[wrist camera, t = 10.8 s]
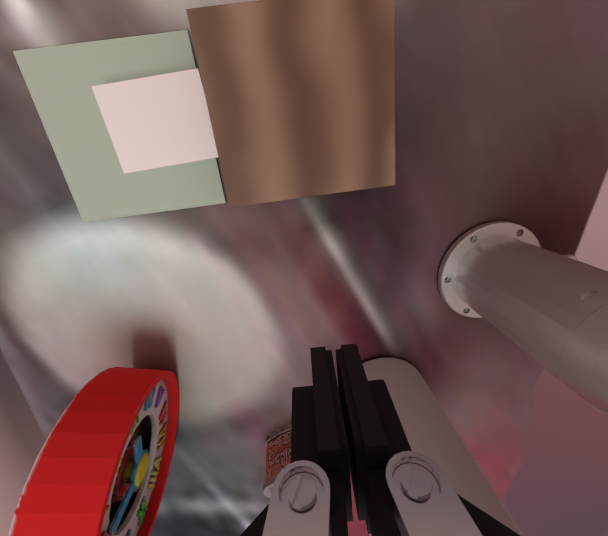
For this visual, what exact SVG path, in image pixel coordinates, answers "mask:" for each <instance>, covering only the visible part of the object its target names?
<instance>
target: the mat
mask: <svg viewBox="0 0 608 536" xmlns="http://www.w3.org/2000/svg"><path fill="white" fill-rule="evenodd" d="M13 53H14V55H15V58H16V60H17V63H18V65H19V67H20V70H21V72H22V75H23V77H24V79H25V82H26V84H27V87H28V89H29V92H30V94H31V96H32V99H33V101H34V104H35V106H36V108H37V111H38V113H39V116H40V118H41V121H42V123H43V125H44V128H45V130H46V133H47V135H48V138H49V140H50V142H51V145H52V147H53V150H54V152H55V154H56V157H57V159H58V162H59V164H60V167H61V169H62V171H63V174H64V176H65V179H66V181H67V183H68V186H69V188H70V191H71V193H72V196H73V198H74V200H75V203H76V205H77V208H78V210H79V212H80V215H81V217H82V220H83V222H88V221H96V220H103V219H111V218H118V217H125V216H133V215H140V214H148V213H155V212H162V211H170V210H177V209H185V208H192V207H199V206H207V205H214V204H221V203H226V199H225V194H224V190H223V185H222V180H221V176H220V171H219V167H218V162H217V158H215V159H209V160H203V161H197V162H191V163H186V164H180V165H174V166H168V167H162V168H157V169H151V170H145V171H139V172H132V173H124V172H123V169H122V167H121V164H120V161H119V159H118V156H117V153H116V151H115V148H114V146H113V143H112V140H111V138H110V135H109V132H108V130H107V127H106V124H105V122H104V119H103V116H102V114H101V111H100V108H99V106H98V103H97V100H96V98H95V95H94V92H93V90H92V87H91V86H97V85H103V84H109V83H114V82H120V81H126V80H132V79H138V78H144V77H150V76H156V75H162V74H167V73H173V72H179V71H185V70H191V69H197V67H196V63H195V58H194V53H193V49H192V44H191V40H190V35H189V31H188V30H182V31H174V32H165V33H157V34H149V35H141V36H133V37H124V38H116V39H108V40H100V41H91V42H83V43H75V44H67V45H58V46H50V47H42V48H34V49H25V50H17V51H13Z"/></svg>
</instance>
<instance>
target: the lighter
mask: <svg viewBox="0 0 608 536" xmlns="http://www.w3.org/2000/svg"><path fill="white" fill-rule="evenodd" d="M291 429H292V424H290V425H287V426H284V427H282V428H280V429H278V430H276V431H275V432H273V433H271V434H270V435H268V436H267V438H266V447H267V456H266V477H265V483H264V489H263V493H264V495H265V496H266V497H268V498H271V493H272V488H273V485H274V482H275V479H276V477H277V476H278V474H279V473H280V471H281V470H282V469H283V468H285V467H286V466H287V465H288V464H291Z"/></svg>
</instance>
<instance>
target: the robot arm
mask: <svg viewBox="0 0 608 536" xmlns="http://www.w3.org/2000/svg"><path fill="white" fill-rule="evenodd" d="M438 288H439V291H440V294H441V297H442V298H443V300H444V301H445V303H446V304H447V305H448V306H449V307H450V308H452V309H453V310H454V311H456V312H457V313H459V314H461V315H463V316H467V317H472V318H484V319H485V320H486V321H488V322H489V323H490V324H491V325H492V326H494V327H495V328H496V329H497V330H499V331H500V332H501V333H502V334H504V335H505V336H506V337H507V338H509V339H510V340H511V341H512V342H513V343H515V344H516V345H517V346H518V347H520V348H521V349H522V350H523V351H525V352H526V353H527V354H528V355H529V356H531V357H532V358H533V359H534V360H536V361H537V362H538V363H539V364H541V365H542V366H543V367H544V368H545V369H547V370H548V371H549V372H550V373H552V374H553V375H554V376H555V377H557V378H558V379H559V380H560V381H561V382H563V383H564V384H565V385H566V386H568V387H569V388H570V389H571V390H572V391H574V392H575V393H576V394H577V395H579V396H580V397H581V398H582V399H584V400H585V401H586V402H588V403H589V404H591V405H592V406H594V407H595V408H597V409H599V410H601V411H602V412H605V413H607V414H608V272H607V271H604V270H602V269H599V268H596V267H593V266H591V265H588V264H585V263H582V262H579V261H577V260H576V257H575V256H574V255H573V254H565V255H560V254H557V253H555V252H552V251H549V250H546V249H544V248H541V246H540V244H539V241H538V239H537V238H536V237H535V235H534V234H533V233H532V232H531V231H530V230H528V229H527V228H526V227H523V226H521V225H518V224H515V223H511V222H507V221H495V222H488V223H485V224H482V225H479V226H477V227H475V228H473V229H471V230H469V231H467V232H466V233H465V234H463V235H462V236H461V237H459V238H458V239H457V240H456V241H455V242H454V243H453V244H452V246H451V247H450V248H449V250H448V251H447V252H446V254H445V256H444V258H443V260H442V262H441V265H440V268H439V272H438ZM336 361H337V375H338V385H337V379H336V374H335V368H334V362H333V357H332V351H331V350H327V351H326V349H325V347H316V348H311V362H312V376H313V386H305V387H294V388H293V390H292V429H291V464H288V465H287V466H286V467H285V468H283V469H282V470H281V471H280V473H279V474H278V476H277V477H276V479H275V482H274V485H273V488H272V493H271V498H270V502H269V504H268V505H267V507H266V508H265V509H264V510H263V511H262V512H261V513H260V514H259V515H258V517H257V518H256V519H255V520H254V521H253V522H252V523H251V524H250V525H249V526H248V528H247V529H246V530H245V531H244V532H243V533H242V534H241V535H240V536H348V527H347V521H353V515H352V499H351V482H350V473H351V479H352V485H353V491H354V497H355V503H356V509H357V514H358V519H359V520H366V525H367V530H368V534H371V535H372V536H520V535H519V534H517V533H516V532H514V531H513V530H511V529H510V528H508V527H507V526H505V525H504V524H502V523H501V522H499V521H498V520H496V519H494V518H493V517H491V516H490V515H488V514H487V513H485V512H484V511H482V510H481V509H479V508H478V507H476V506H475V505H473V504H472V503H470V502H469V501H467V500H466V499H464V498H463V497H461V496H459V495H458V494H456V492H455V490H454V489H453V487H452V486H451V484H450V482H449V481H448V479H447V477H446V476H445V474H444V473H443V471H442V470H441V469H440V467H439V466H438V465H437V464H436V463H435V462H434V461H433V460H431V459H430V458H429V457H427V456H425V455H423V454H421V453H418V452H413V451H412V450H411V447H410V445H409V442H408V440H407V437H406V434H405V432H404V429H403V427H402V424H401V422H400V419H399V417H398V414H397V411H396V409H395V406H394V404H393V401H392V399H391V396H390V393H389V391H388V388H387V386H386V383H385V381H384V380H383V379H381V380H370V381H368V380H367V377H366V373H365V370H364V367H363V364H362V361H361V358H360V354H359V351H358V348H357V345H356V344H348V345H341V349H338V350H336ZM338 389H339V391H338Z"/></svg>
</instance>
